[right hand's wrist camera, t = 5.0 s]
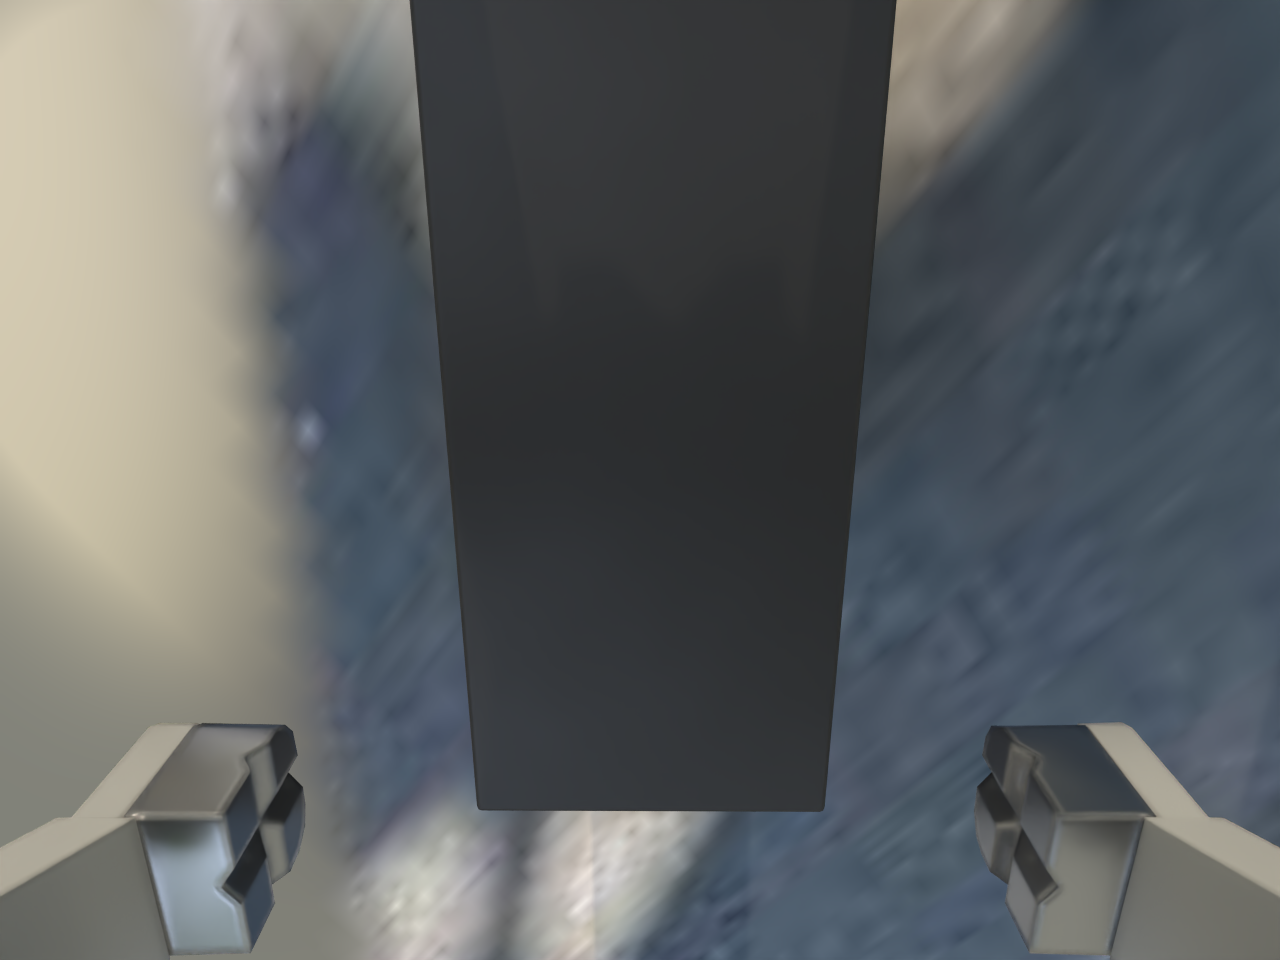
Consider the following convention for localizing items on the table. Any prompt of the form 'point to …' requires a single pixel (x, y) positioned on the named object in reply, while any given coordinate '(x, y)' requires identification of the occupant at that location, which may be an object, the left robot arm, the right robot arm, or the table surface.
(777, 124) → the box
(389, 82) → the table surface
